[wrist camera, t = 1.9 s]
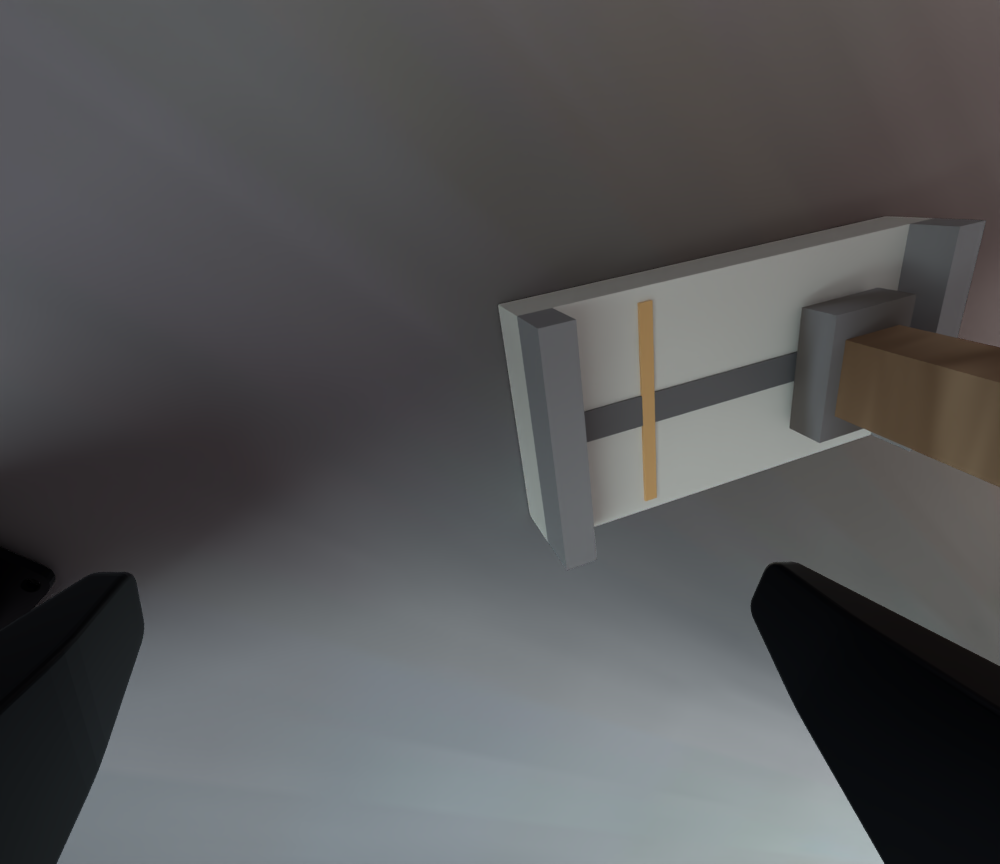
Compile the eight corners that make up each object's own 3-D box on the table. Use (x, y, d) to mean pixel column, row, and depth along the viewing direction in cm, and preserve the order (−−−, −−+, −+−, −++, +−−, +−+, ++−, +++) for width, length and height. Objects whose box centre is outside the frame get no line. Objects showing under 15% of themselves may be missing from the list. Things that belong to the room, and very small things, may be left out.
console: (529, 515, 23) (566, 570, 19) (497, 304, 19) (537, 328, 15) (853, 411, 26) (931, 443, 23) (885, 216, 22) (986, 220, 19)
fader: (789, 428, 22) (1137, 600, 13) (802, 307, 20) (1236, 409, 10) (857, 406, 23) (1234, 554, 13) (878, 287, 20) (1347, 366, 11)
